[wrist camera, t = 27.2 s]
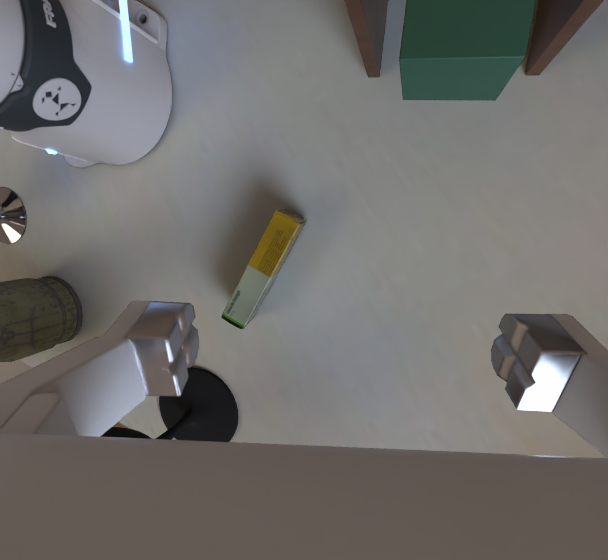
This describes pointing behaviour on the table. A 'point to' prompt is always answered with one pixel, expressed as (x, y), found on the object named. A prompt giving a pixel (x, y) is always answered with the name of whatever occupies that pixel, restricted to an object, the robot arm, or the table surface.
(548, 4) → the step shelf
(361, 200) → the table surface
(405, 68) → the carton
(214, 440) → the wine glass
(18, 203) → the wine glass
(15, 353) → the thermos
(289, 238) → the medication box
